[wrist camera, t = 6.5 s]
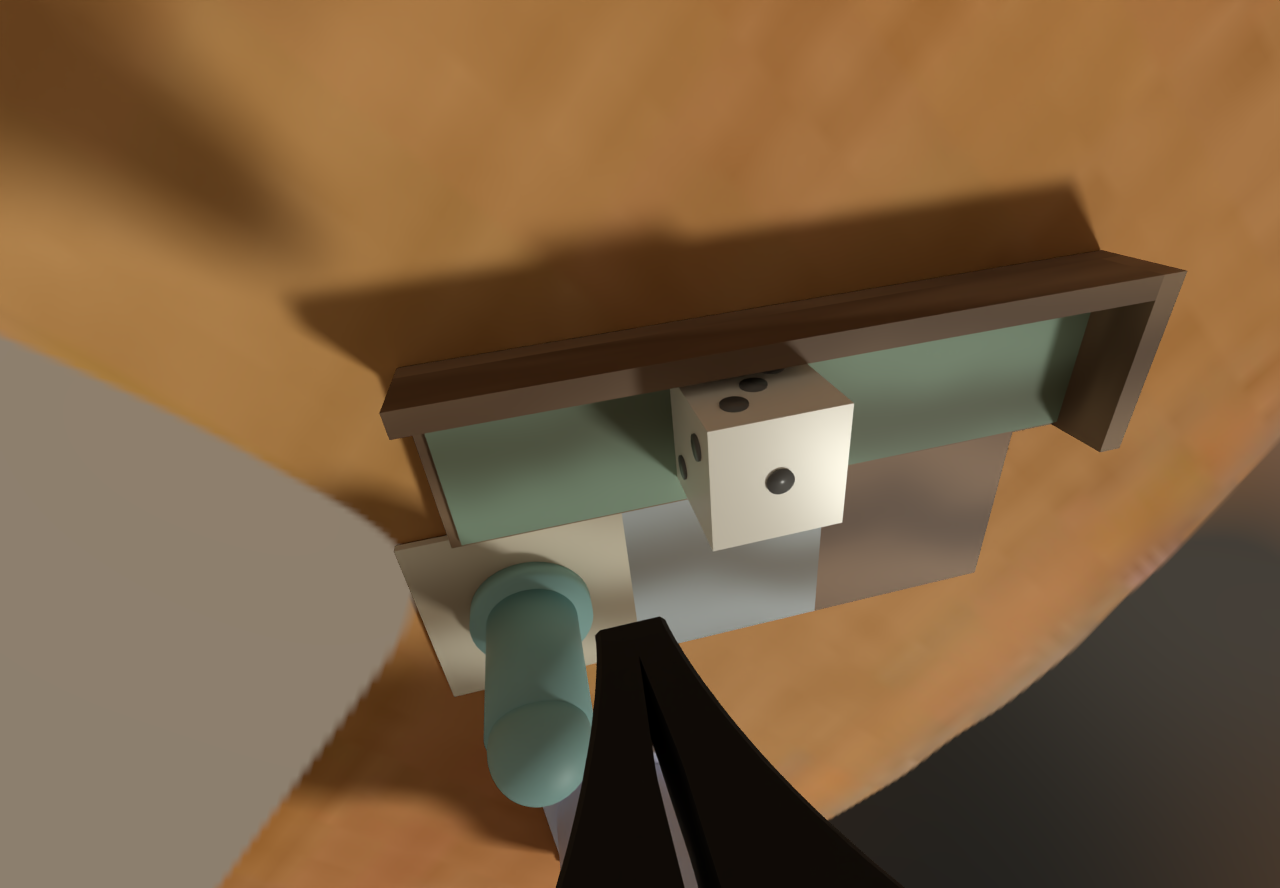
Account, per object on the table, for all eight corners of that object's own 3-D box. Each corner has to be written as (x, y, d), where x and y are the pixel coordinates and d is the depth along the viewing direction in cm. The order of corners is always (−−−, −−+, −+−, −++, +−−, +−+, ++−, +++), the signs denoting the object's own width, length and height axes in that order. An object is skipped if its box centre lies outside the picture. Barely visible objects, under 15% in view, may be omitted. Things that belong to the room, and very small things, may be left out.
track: (970, 568, 28) (974, 572, 27) (454, 690, 25) (454, 696, 24) (1008, 420, 24) (1014, 423, 23) (395, 545, 20) (394, 551, 20)
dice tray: (1052, 411, 24) (1119, 448, 21) (452, 534, 21) (446, 594, 18) (1101, 250, 20) (1187, 270, 18) (396, 368, 17) (379, 413, 15)
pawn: (597, 634, 24) (632, 818, 18) (485, 660, 24) (481, 860, 17) (581, 550, 22) (614, 728, 16) (456, 577, 21) (439, 773, 15)
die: (786, 454, 21) (843, 524, 17) (675, 477, 20) (711, 553, 17) (789, 347, 19) (855, 402, 15) (666, 369, 18) (705, 431, 15)
